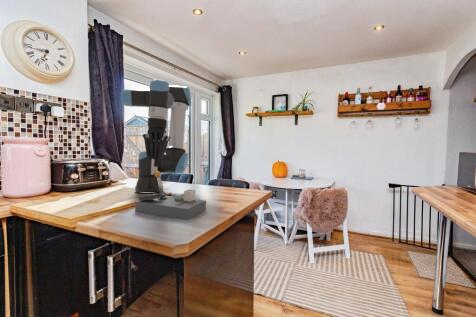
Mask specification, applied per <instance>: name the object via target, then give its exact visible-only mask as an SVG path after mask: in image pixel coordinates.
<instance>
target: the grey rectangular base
mask: <svg viewBox="0 0 476 317" xmlns="http://www.w3.org/2000/svg"><path fill="white" fill-rule="evenodd" d="M134 203H135V204H134V205H135V206H134V208H135V209H134V212H137V213H143V214H147V215H155V216H162V217H166V218H173V219H180V220H185V221H187V220H190V219H191V218H194V217H196V216H197V215H200V214H201V213H203V212H205V211H207V201H206V200H202V199H196V198H195V200H193V201H191V202H189V201H184V194H181V193H180V194H179V193H177V194H174V196H169V195H166V196H165V197H163V198H160V197H159V198H156V199H153V200H141V201H139V200H137V201H135V202H134Z"/></svg>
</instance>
